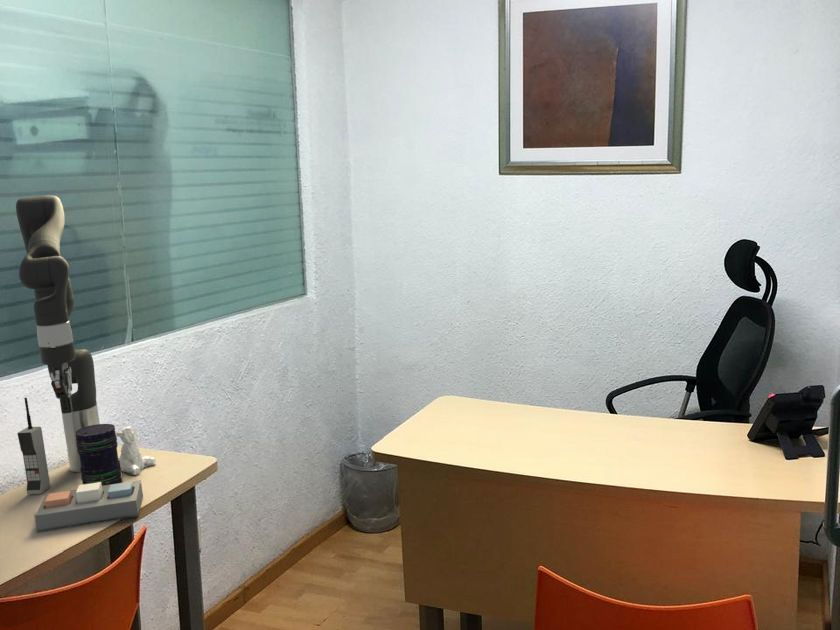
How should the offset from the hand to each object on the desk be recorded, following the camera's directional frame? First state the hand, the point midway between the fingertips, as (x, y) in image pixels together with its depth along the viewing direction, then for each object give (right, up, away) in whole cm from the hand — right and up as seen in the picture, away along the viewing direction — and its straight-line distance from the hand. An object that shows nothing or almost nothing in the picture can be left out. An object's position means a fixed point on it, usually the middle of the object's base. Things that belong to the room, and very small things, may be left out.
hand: (67, 412), depth 201 cm
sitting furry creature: (+6, -19, +29) cm, 36 cm away
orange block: (-1, -23, -2) cm, 23 cm away
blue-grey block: (+13, -21, +1) cm, 25 cm away
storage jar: (+1, -21, +19) cm, 29 cm away
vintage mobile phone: (-15, -23, +18) cm, 32 cm away
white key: (+6, -21, -1) cm, 22 cm away
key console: (+6, -24, 0) cm, 25 cm away
